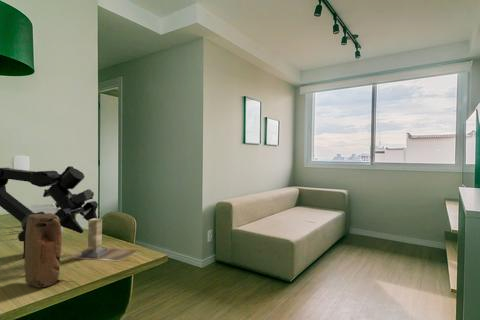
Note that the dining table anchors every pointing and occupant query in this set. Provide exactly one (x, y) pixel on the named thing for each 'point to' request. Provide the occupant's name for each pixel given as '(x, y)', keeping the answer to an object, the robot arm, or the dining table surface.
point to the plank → (109, 255)
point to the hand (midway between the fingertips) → (90, 229)
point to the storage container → (45, 209)
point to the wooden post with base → (94, 239)
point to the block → (42, 249)
